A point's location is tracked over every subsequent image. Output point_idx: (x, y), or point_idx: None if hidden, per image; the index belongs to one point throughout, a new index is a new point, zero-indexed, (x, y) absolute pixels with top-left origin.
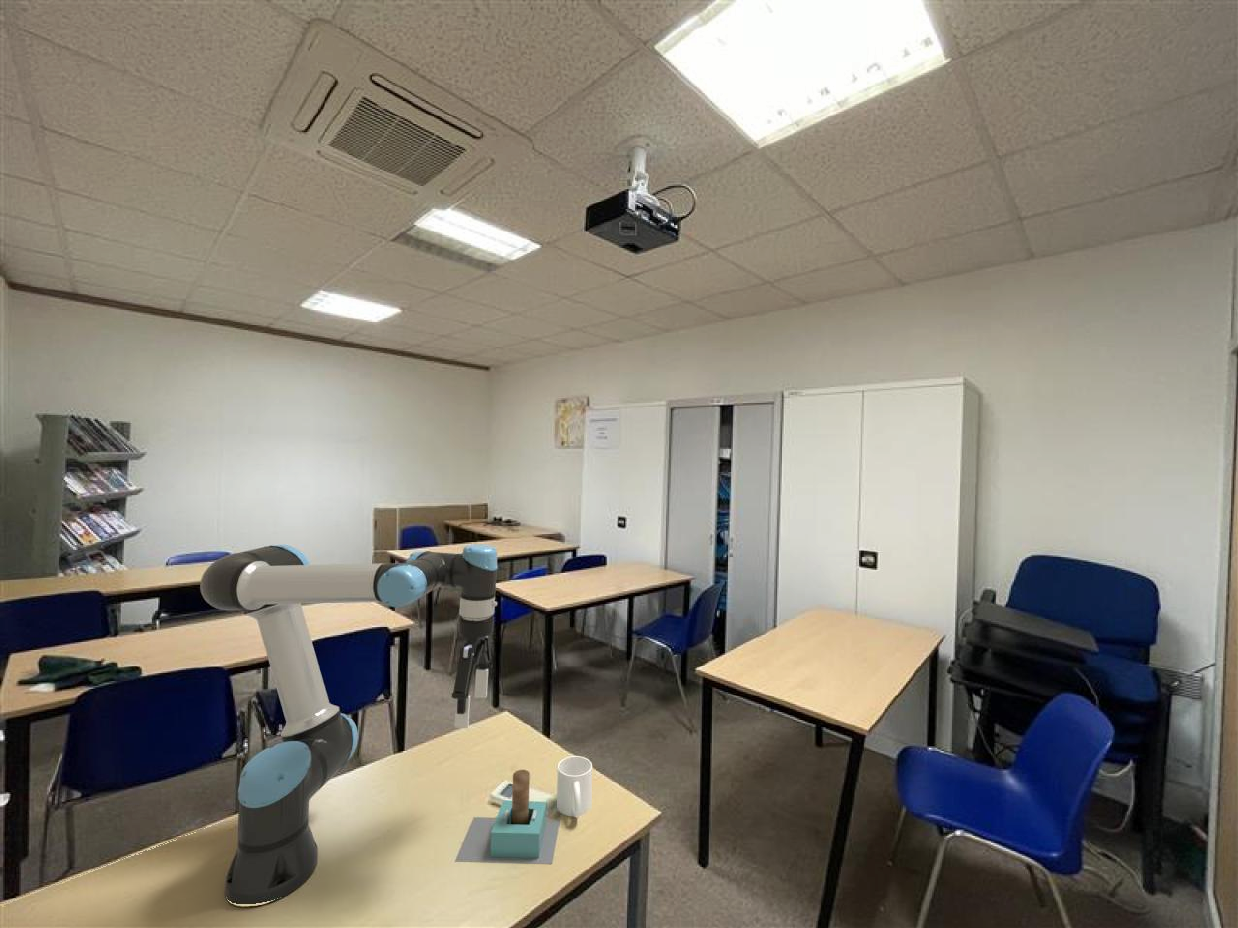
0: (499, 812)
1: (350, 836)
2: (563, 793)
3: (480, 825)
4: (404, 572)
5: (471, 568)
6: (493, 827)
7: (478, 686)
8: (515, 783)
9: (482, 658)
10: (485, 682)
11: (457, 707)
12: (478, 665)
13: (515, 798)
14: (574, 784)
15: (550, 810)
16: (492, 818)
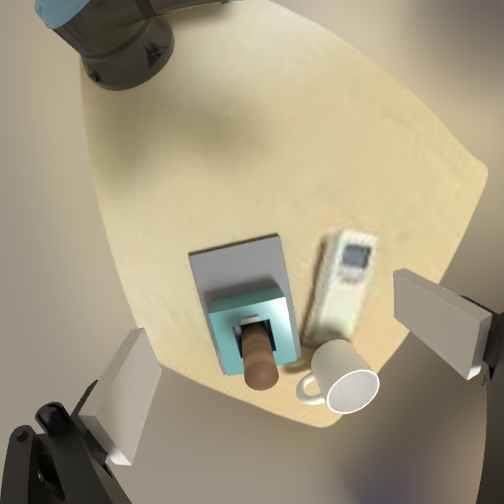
0: (255, 305)
1: (203, 78)
2: (321, 371)
3: (264, 256)
4: None
5: None
6: (219, 312)
7: (421, 303)
8: (245, 368)
9: (491, 443)
10: (431, 342)
11: (82, 399)
12: (499, 337)
13: (243, 354)
14: (319, 398)
15: (324, 332)
16: (283, 266)
